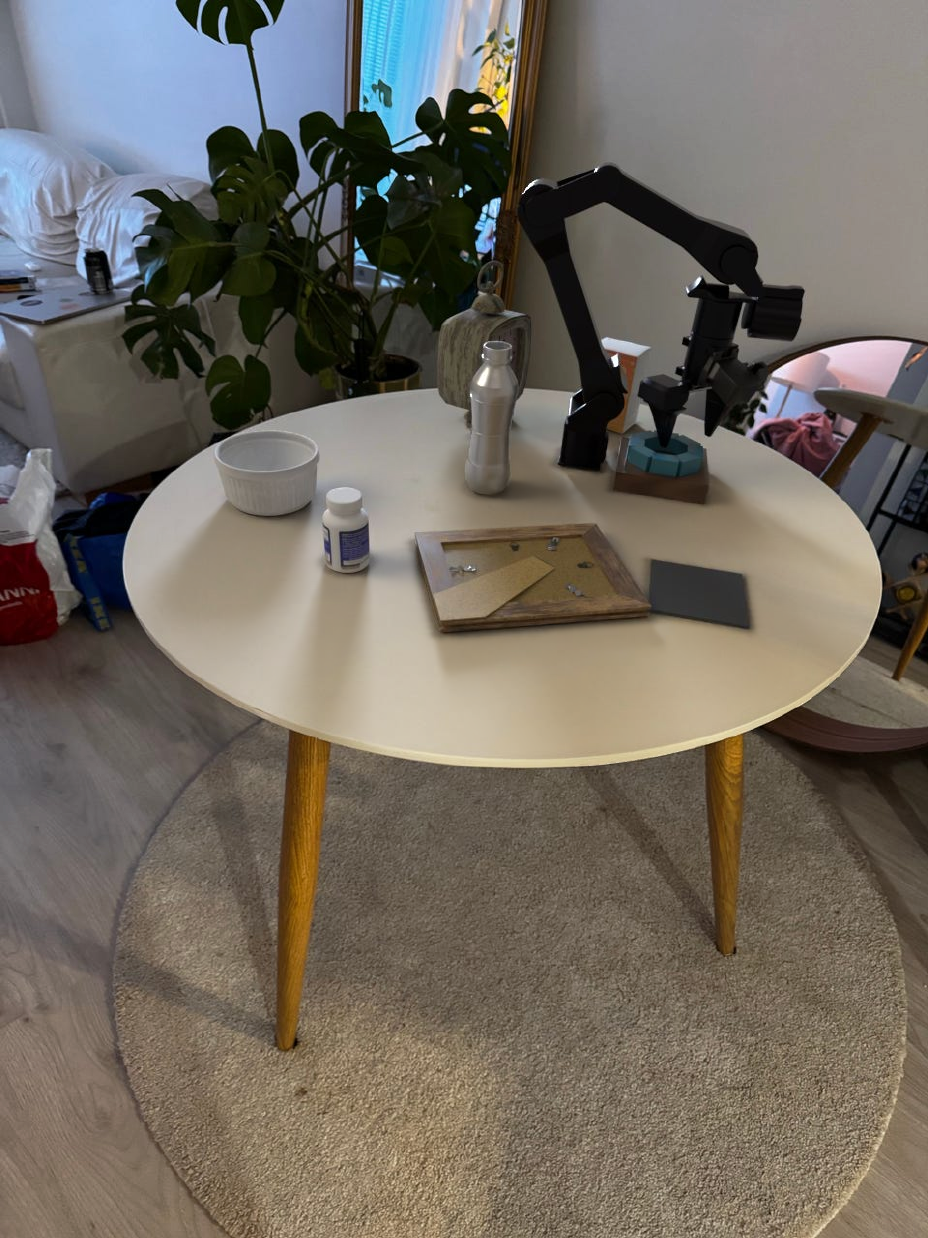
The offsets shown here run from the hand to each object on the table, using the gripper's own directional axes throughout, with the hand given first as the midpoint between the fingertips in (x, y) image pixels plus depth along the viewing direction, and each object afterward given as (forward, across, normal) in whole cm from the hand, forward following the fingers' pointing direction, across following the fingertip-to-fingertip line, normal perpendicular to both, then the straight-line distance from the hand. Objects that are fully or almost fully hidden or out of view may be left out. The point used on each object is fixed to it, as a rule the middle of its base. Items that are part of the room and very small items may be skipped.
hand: (685, 441), depth 112 cm
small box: (+5, +3, +20) cm, 21 cm away
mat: (+5, -22, -25) cm, 33 cm away
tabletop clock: (+5, -18, +29) cm, 34 cm away
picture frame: (+5, -38, -13) cm, 41 cm away
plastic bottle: (+5, -30, +8) cm, 31 cm away
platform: (+5, -4, 0) cm, 7 cm away
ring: (+2, -4, 0) cm, 5 cm away
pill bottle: (+5, -55, 0) cm, 55 cm away
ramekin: (+5, -57, +19) cm, 61 cm away
